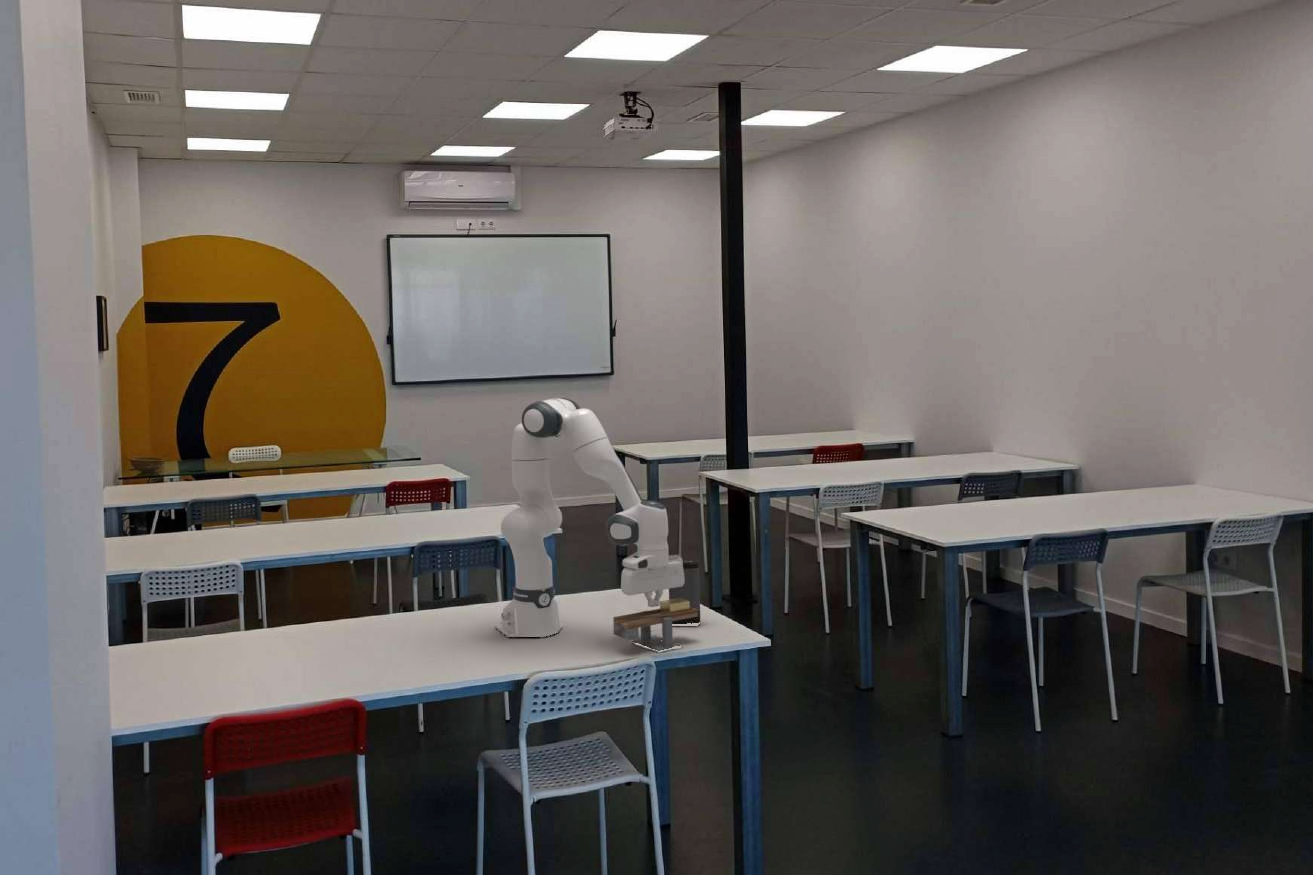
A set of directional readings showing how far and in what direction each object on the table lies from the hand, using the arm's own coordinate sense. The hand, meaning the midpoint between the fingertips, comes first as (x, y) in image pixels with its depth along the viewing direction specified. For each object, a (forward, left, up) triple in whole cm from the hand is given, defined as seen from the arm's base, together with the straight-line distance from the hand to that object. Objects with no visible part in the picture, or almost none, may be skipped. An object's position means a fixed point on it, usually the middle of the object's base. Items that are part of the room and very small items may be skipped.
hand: (653, 606), depth 321 cm
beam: (0, +1, -7) cm, 7 cm away
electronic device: (-14, +22, -12) cm, 28 cm away
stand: (0, +1, -12) cm, 12 cm away
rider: (0, +7, -3) cm, 8 cm away
